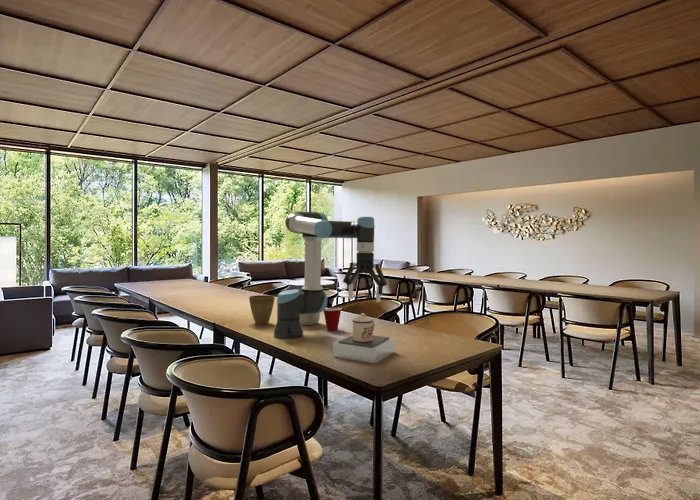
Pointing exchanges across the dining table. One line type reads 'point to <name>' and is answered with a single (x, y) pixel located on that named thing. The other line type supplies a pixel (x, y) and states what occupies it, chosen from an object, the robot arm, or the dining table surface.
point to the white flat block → (364, 349)
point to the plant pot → (261, 308)
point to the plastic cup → (332, 318)
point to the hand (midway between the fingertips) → (364, 300)
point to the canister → (309, 318)
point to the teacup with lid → (363, 328)
